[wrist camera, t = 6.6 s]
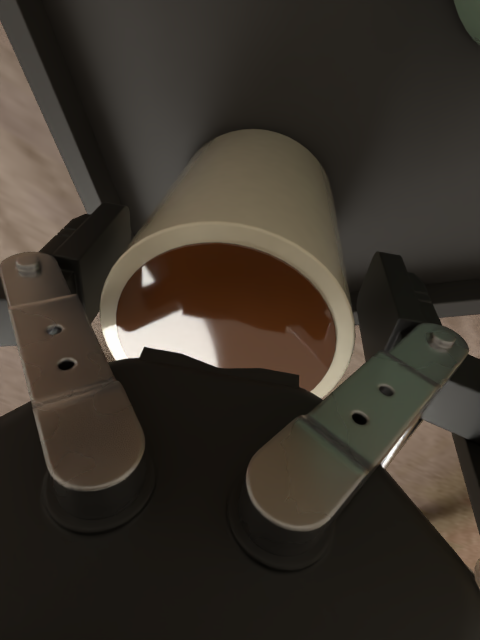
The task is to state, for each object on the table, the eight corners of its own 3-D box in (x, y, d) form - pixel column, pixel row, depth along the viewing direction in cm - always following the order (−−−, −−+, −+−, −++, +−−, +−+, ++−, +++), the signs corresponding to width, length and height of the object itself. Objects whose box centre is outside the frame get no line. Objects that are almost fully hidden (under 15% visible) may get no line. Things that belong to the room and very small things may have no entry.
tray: (-40, -173, 12) (-103, -206, 10) (1004, -629, 7) (1252, -854, 5) (158, 316, 22) (145, 344, 20) (636, 266, 17) (676, 297, 15)
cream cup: (190, 105, 14) (103, 184, 8) (361, 158, 15) (407, 273, 8) (158, 304, 20) (91, 443, 14) (283, 338, 20) (275, 489, 14)
